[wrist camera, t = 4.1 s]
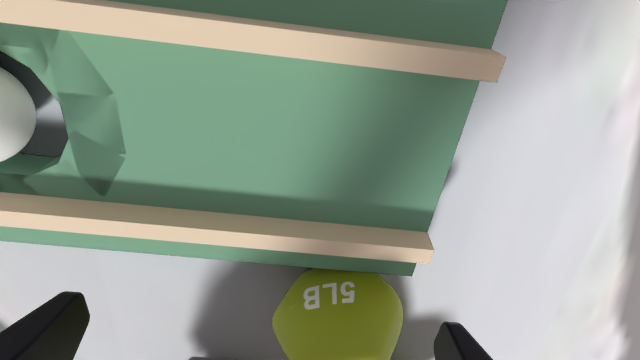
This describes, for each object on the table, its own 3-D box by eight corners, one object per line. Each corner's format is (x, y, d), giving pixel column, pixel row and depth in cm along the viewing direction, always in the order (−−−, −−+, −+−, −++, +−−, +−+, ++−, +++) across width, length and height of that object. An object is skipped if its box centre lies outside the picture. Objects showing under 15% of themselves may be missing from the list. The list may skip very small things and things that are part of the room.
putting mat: (405, 253, 24) (423, 317, 20) (-40, 213, 22) (-126, 273, 18) (492, -20, 16) (557, -13, 12) (-202, -117, 14) (-429, -151, 10)
